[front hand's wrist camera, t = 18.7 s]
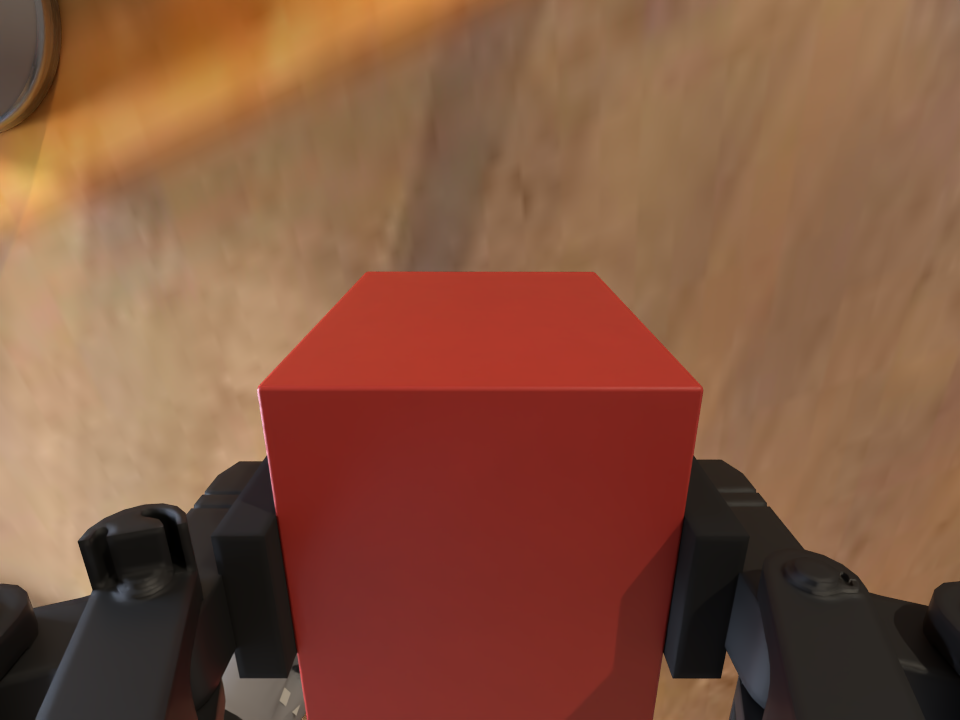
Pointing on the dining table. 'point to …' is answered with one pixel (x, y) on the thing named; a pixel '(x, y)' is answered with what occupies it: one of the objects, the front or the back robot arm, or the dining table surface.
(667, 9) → the dining table surface
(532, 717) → the block
